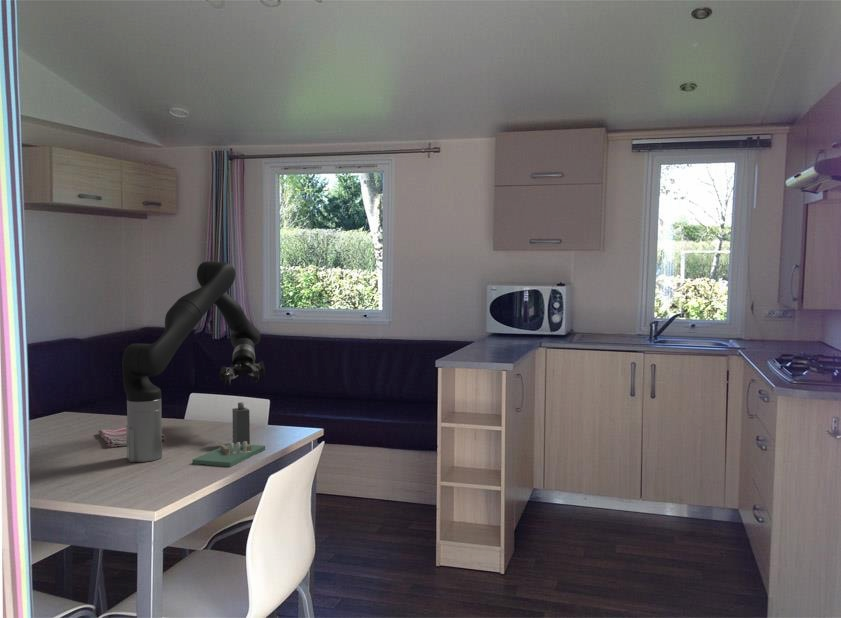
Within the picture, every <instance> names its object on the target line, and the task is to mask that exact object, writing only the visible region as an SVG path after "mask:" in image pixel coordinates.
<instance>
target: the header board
mask: <svg viewBox="0 0 841 618" xmlns="http://www.w3.org/2000/svg"><path fill="white" fill-rule="evenodd" d="M219 446H220V447H218V448H216V449H214V450H212V451H211V450H210V452H206V453H205V454H202V455H200V456H198V457H195V458H193V459H192V462H191V463H192V464H194V465H201V464H206V465H205V466H216V467H229V468H231V467H233V466H235V465H237V464H240V463H241V462H244V461H245V459H246V460H247V458H248V459H250V458H252V457H253V455H254V456H255V454H256V455H258V454H260V453H262V452H264V451H265V450H266V445H260V444H259V445H257V444H250V445H249V444H248V443H247V441H244V442H242V444H240V442H237V444H233V442H230V443H227V444H223V443H222V444H220V445H219ZM257 453H258V454H257ZM251 456H252V457H251ZM249 457H250V458H249Z"/></svg>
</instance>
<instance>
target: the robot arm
mask: <svg viewBox="0 0 841 618" xmlns="http://www.w3.org/2000/svg"><path fill="white" fill-rule="evenodd" d="M196 278H197V279H196V280H197V282H198V284H199V285H200V287H198V288H197V289H195V290H192V291H191V292H188V293H186V294H185V295H183V296H181V297H180V298H178V299H177V300H176V301H175V302H174V303H173V304H172V306H171V307H170V308H169V309H168V310H167V312H166V315H165V317H164V331H163V333H162V335H160V337H159V338H158V339H157V340H155V342H153V343H131V344H129V345H128V346H127V347H126V348H125V349H124V352H123V355H122V361H121V362H122V363H121V367H122V377H123V378H122V380H123V388H124V389H123V390H124V392H125V395H126V412H127V413H126V414H127V415H126V416H127V417H126V419H127V421H126V423H127V424H126V427H125V428H126V438H127V446H126V459H127V461H128V462H129V463H133V462H135V463H142V462H150V461H151V462H152V461H156V460H159V459H161V458H162V457H163V441H162V434H163V429H162V427H163V426H162V389H161V388H160V387H158V386H157V385H154V383H152V382H151V380H150V379H149V377H155V376H158V375H160V374H161V373H163V372H164V370H165V369H166V368H167V366H168V365H169V364H170V362H171V360H172V359H173V357H174V355H175V354H176V352H177V350H179V348H180V346H181V345H182V343H183V342H184V341H185V340H186V339H187V337H188V335H189V334H190V333H191V332H192V331H193V330H194V328H196V326H197V325H198V323H200V321H201V320H202V318H203V317H204V316H205V314H207V312H208V311H209V310H210V309H211V308H212V306H213V305H215V306H216V308H218V310H219V311H220V313H221V315H222V316H223V318H224V320H225V323H226V325H227V326H228V328H229V330H230V331H232V333H230V336H229V339H230V340H229V341H230V343H231V345H232V347H233V352H232V358H231V360H232V361H231V365H230V367H226V365H222V366H221V368H220V372H219V376H220V381H222V382H224V381H225V385H227V386H228V387H229V386H231V382H232V381H231V380H233V379H236V378H237V377H239V376H244V375H246V376H247V375H249V376H252V377H253V380H254V383H257V382H258V381H259V380H260V376H265V375H266V370H265V364H264V360H260V361H259V362H258V363H256V362H255V361H256V353H255V346H256V345H257V344H259V343H260V341H261V333H260V331H259V329H258V328H257V327H256V326H255V325H254V324H253V323H252V322H251V321H250V320H249V319H248V318H247V315H246V314H245V311H244V309H243V307H242V305H240V304H239V302H238V301H237V300H235V299H234V298H233V297H232V296H231V295H229V293H227V291H229V290H230V288H232V285H233V284H234V282H235V278H236V269H235V267H234V266H233V265H232V264H230V263H228V262H224V261H211V260H210V261H203V262H201V263H200V264H199V265H198V267H197V270H196Z"/></svg>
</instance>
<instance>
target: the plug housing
mask: <svg viewBox="0 0 841 618" xmlns="http://www.w3.org/2000/svg"><path fill="white" fill-rule="evenodd" d="M231 410H232V412H231V413H232V443H234V444H237V442H240V444H242V442H244V441H247V443H248V444H250V445H251V440H250V439H251V438H250V434H251V433H250V432H251V431H250V429H251V428H250V423H251V422H250V409H249V408H247V407H245V402H243V401H241V402H237V407H235V408H232V409H231Z"/></svg>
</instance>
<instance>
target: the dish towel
mask: <svg viewBox="0 0 841 618" xmlns="http://www.w3.org/2000/svg"><path fill="white" fill-rule="evenodd" d="M97 432H98V435H99V436H100V437H101V438H102V439H103V440H104V442H105V441H106V442H105V443H108V444H106V446H108V445H109V446H110V447H111V448H117V446H119V447H125V446H126V447H127V438H126V427H123V428H116V429H111V430H110V429H99V430H98V431H97ZM166 440H167V439H166V435H164V433H162V442H166ZM109 446H108V447H109ZM110 447H109V448H110Z"/></svg>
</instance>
